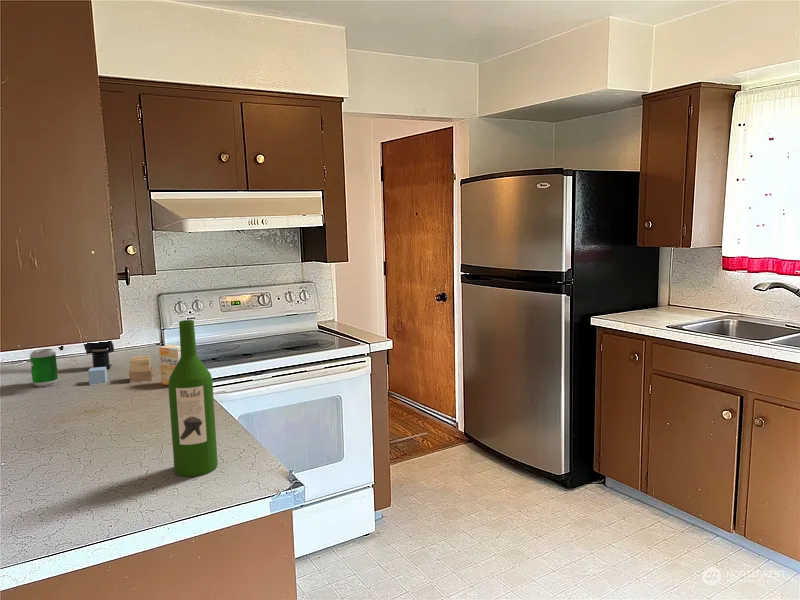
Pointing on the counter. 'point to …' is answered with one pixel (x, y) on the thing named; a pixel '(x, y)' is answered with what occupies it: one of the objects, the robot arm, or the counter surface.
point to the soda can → (44, 367)
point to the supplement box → (168, 361)
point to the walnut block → (141, 375)
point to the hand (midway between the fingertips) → (74, 350)
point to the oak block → (140, 363)
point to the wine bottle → (192, 410)
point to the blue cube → (97, 375)
